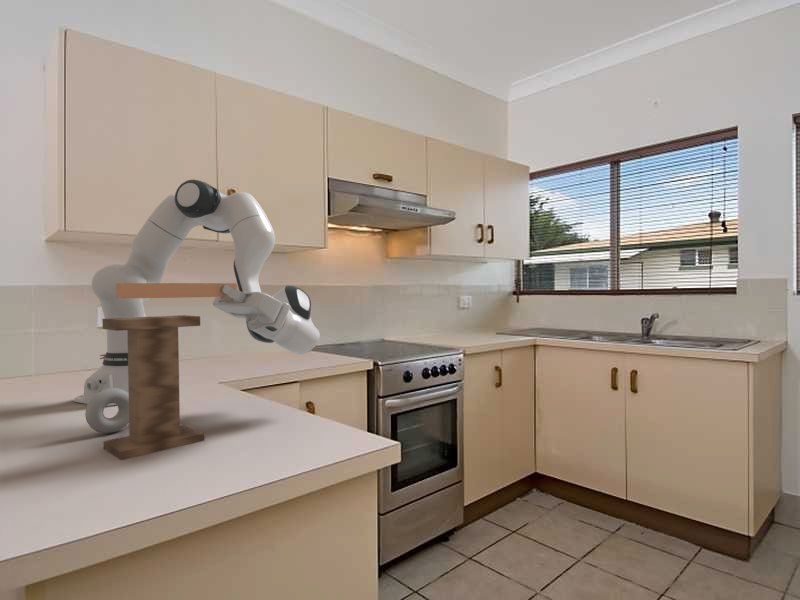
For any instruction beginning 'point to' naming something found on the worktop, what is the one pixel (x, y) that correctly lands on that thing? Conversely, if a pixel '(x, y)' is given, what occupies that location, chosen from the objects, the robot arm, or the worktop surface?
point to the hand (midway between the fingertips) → (217, 288)
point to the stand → (152, 386)
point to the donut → (97, 407)
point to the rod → (170, 290)
